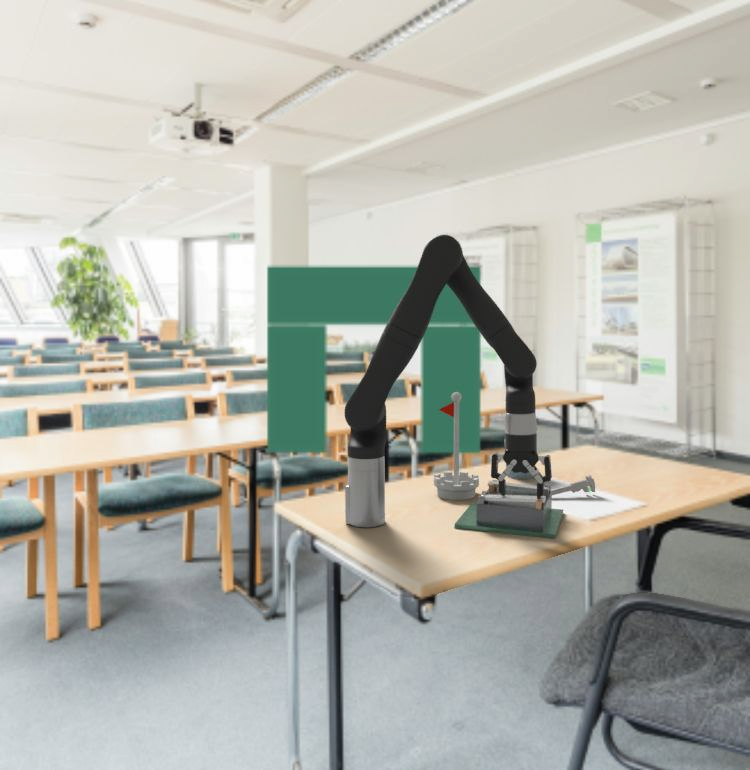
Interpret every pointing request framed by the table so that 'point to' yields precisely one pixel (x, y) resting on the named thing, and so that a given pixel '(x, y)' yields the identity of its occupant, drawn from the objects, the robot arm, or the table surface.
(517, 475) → the blue-grey cup
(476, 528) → the base
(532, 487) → the far strap
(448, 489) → the flag stand
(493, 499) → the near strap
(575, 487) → the caliper
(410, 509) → the table surface
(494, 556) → the table surface
